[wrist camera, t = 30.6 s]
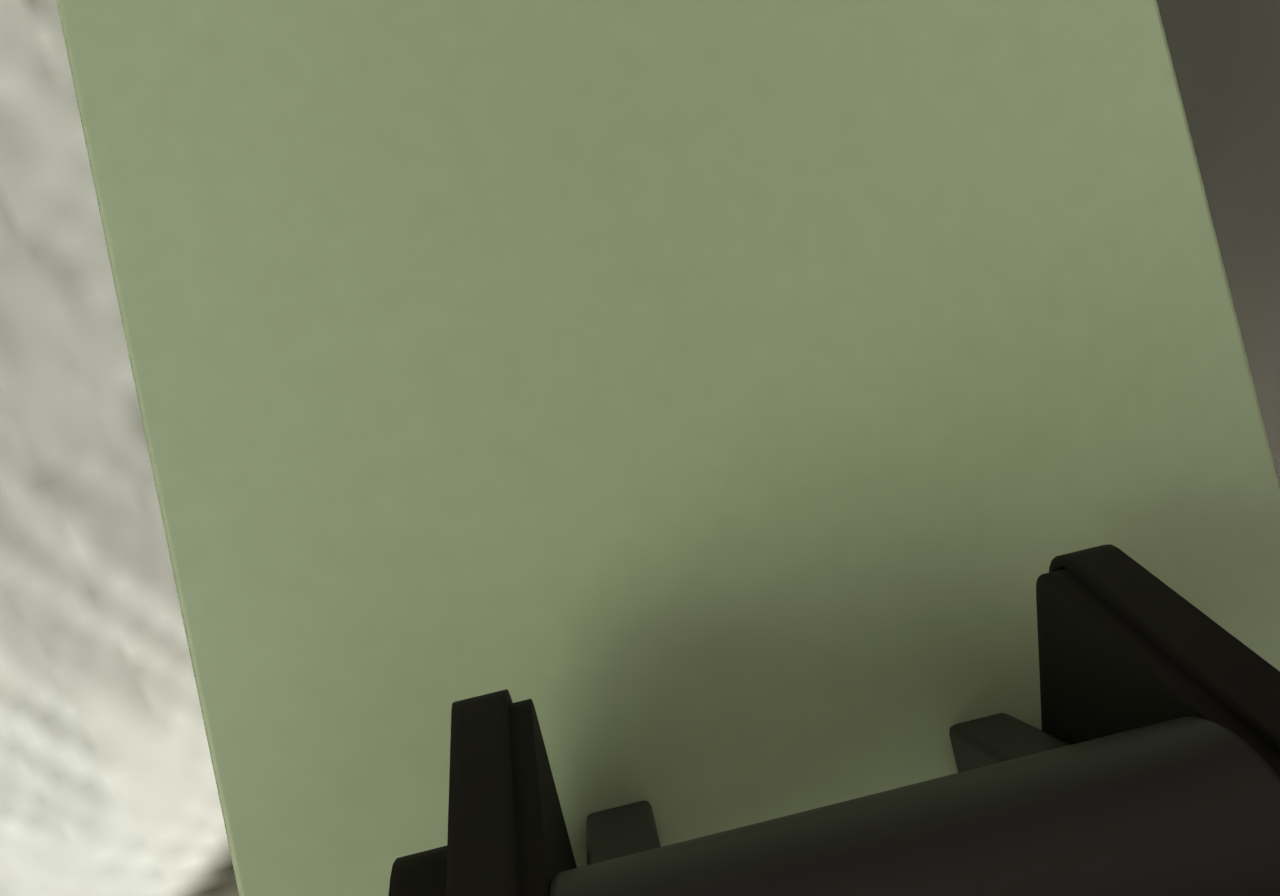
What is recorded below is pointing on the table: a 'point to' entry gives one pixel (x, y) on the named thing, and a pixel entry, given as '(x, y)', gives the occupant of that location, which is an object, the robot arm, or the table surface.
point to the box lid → (685, 427)
